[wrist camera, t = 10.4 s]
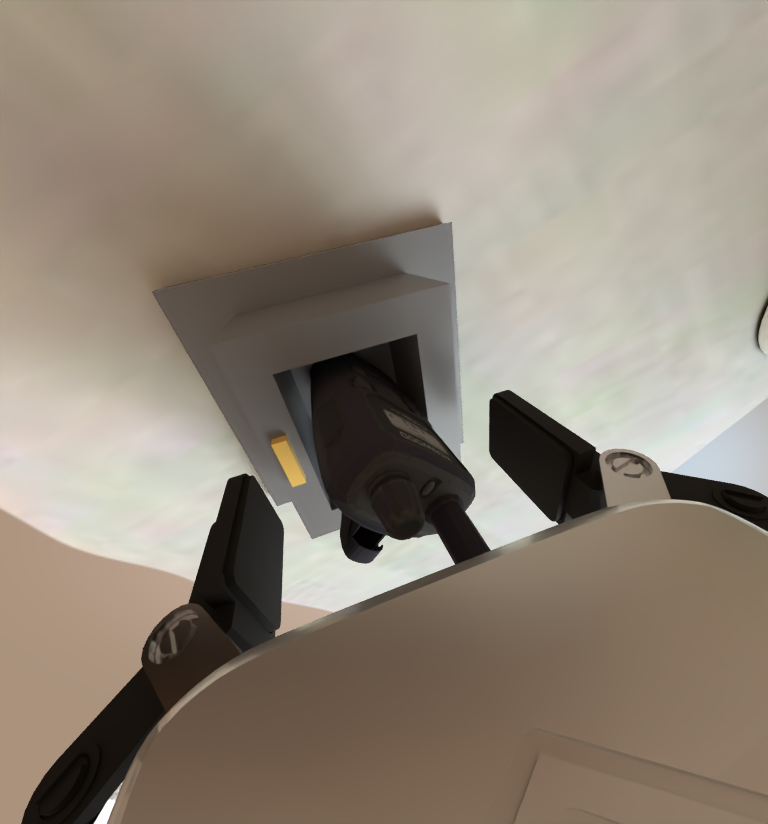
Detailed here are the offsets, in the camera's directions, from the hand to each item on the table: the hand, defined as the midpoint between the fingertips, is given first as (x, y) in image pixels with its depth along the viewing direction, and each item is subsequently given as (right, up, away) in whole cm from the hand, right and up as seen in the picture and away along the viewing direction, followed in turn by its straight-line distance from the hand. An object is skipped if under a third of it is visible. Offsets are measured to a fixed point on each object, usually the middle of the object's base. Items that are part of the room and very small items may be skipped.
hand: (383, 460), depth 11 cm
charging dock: (-2, +4, +7) cm, 8 cm away
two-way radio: (-2, +3, +6) cm, 7 cm away
